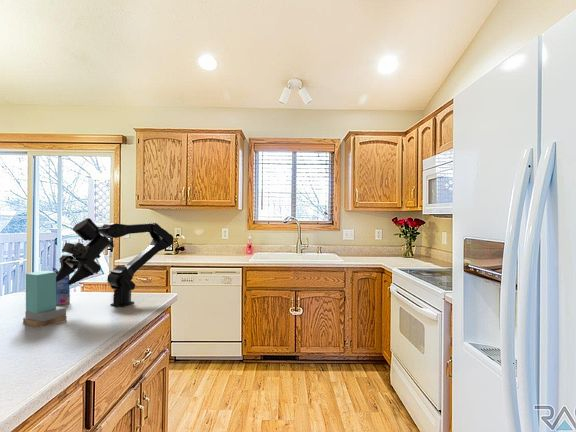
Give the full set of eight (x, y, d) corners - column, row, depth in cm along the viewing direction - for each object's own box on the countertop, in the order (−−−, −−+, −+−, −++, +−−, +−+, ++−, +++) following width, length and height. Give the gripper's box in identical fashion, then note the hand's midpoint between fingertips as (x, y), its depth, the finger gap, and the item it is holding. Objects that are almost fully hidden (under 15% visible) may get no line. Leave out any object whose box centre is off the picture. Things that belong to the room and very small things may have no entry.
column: (45, 306, 117) (44, 270, 116) (56, 308, 114) (55, 271, 114) (25, 310, 111) (25, 273, 111) (37, 313, 109) (36, 275, 108)
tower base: (53, 318, 119) (53, 311, 119) (66, 323, 115) (66, 315, 115) (23, 325, 112) (23, 318, 112) (36, 330, 107) (36, 322, 107)
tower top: (49, 312, 118) (49, 305, 118) (66, 314, 116) (66, 307, 116) (25, 318, 111) (25, 311, 111) (42, 321, 108) (42, 313, 108)
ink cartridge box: (45, 301, 139) (45, 267, 139) (60, 299, 143) (61, 265, 143) (54, 305, 133) (55, 269, 133) (70, 303, 138) (70, 268, 138)
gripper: (65, 233, 127) (30, 266, 117) (92, 235, 117) (57, 271, 108) (86, 252, 134) (55, 284, 124) (113, 256, 124) (82, 291, 115)
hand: (61, 282), depth 118 cm, fingers open, 9 cm apart
